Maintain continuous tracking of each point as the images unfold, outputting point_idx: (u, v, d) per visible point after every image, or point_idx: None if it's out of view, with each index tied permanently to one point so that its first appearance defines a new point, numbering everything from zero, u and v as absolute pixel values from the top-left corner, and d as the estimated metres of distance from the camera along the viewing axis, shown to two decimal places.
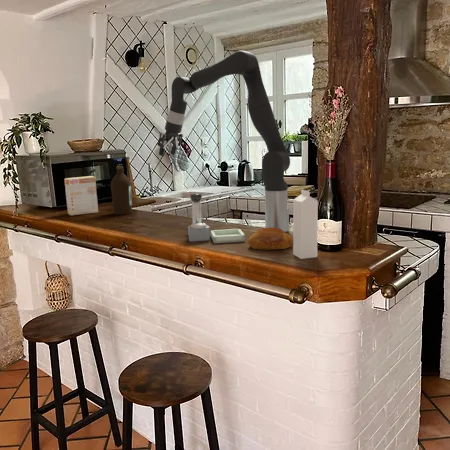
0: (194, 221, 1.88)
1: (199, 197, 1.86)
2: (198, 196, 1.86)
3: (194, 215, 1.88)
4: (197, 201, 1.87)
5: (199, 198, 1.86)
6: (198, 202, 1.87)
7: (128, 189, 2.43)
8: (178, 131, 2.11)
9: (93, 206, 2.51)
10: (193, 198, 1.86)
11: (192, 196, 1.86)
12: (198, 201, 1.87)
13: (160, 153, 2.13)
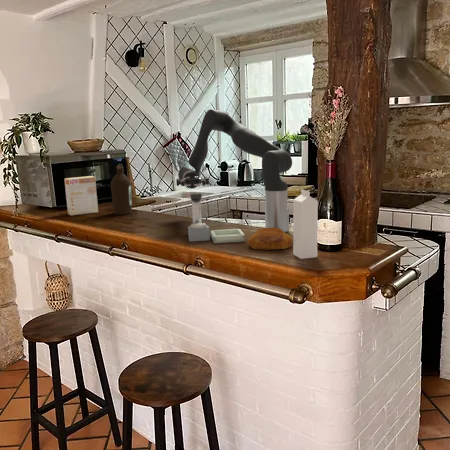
0: (194, 221, 1.88)
1: (199, 197, 1.86)
2: (198, 196, 1.86)
3: (194, 215, 1.88)
4: (197, 201, 1.87)
5: (199, 198, 1.86)
6: (198, 202, 1.87)
7: (128, 189, 2.43)
8: (190, 172, 2.09)
9: (93, 206, 2.51)
10: (193, 198, 1.86)
11: (192, 196, 1.86)
12: (198, 201, 1.87)
13: (180, 183, 1.98)
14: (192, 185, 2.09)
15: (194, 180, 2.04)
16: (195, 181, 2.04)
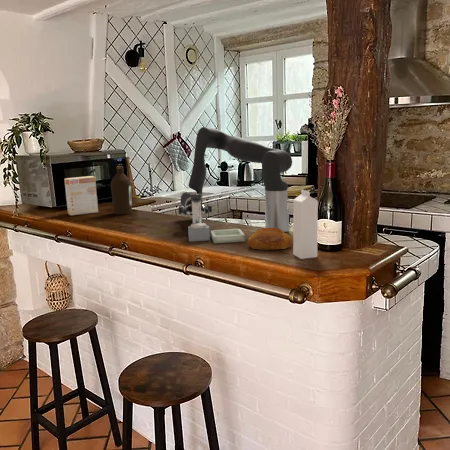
0: (194, 221, 1.88)
1: (199, 197, 1.86)
2: (198, 196, 1.86)
3: (194, 215, 1.88)
4: (197, 201, 1.87)
5: (199, 198, 1.86)
6: (198, 202, 1.87)
7: (128, 189, 2.43)
8: None
9: (93, 206, 2.51)
10: (193, 198, 1.86)
11: (192, 196, 1.86)
12: (198, 201, 1.87)
13: (183, 211, 1.94)
14: None
15: None
16: None
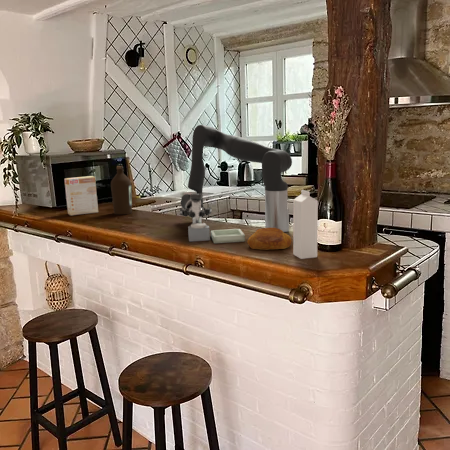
0: (194, 221, 1.88)
1: (199, 197, 1.86)
2: (198, 196, 1.86)
3: (194, 215, 1.88)
4: (197, 201, 1.87)
5: (199, 198, 1.86)
6: (198, 202, 1.87)
7: (128, 189, 2.43)
8: None
9: (93, 206, 2.51)
10: (193, 198, 1.86)
11: (192, 196, 1.86)
12: (198, 201, 1.87)
13: (189, 214, 1.87)
14: None
15: None
16: None
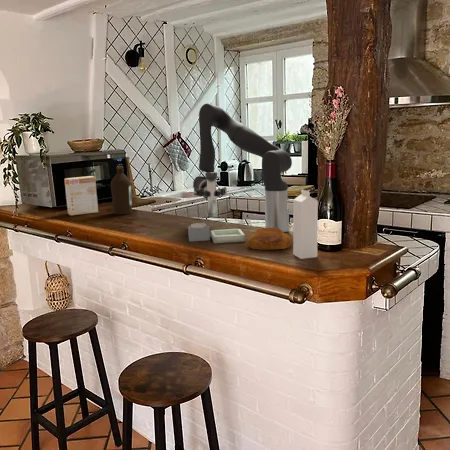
0: (209, 201, 1.81)
1: (215, 176, 1.79)
2: (213, 174, 1.79)
3: (209, 194, 1.81)
4: (212, 180, 1.79)
5: (215, 177, 1.79)
6: (213, 181, 1.80)
7: (128, 189, 2.43)
8: None
9: (93, 206, 2.51)
10: (208, 177, 1.79)
11: (207, 174, 1.79)
12: (213, 180, 1.80)
13: (204, 193, 1.80)
14: None
15: None
16: None
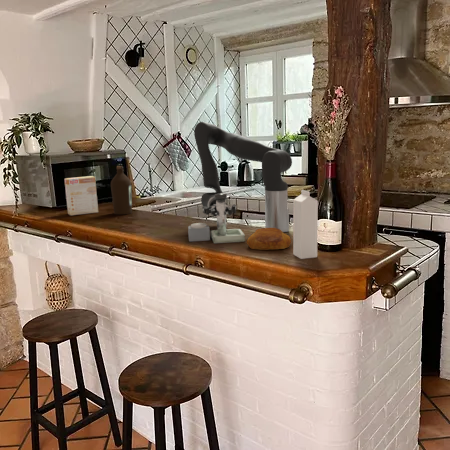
0: (219, 222, 1.80)
1: (224, 197, 1.78)
2: (223, 196, 1.78)
3: (219, 216, 1.80)
4: (222, 201, 1.78)
5: (224, 198, 1.78)
6: (223, 202, 1.79)
7: (128, 189, 2.43)
8: None
9: (93, 206, 2.51)
10: (218, 198, 1.78)
11: (217, 196, 1.78)
12: (223, 201, 1.79)
13: (211, 212, 1.79)
14: None
15: None
16: None
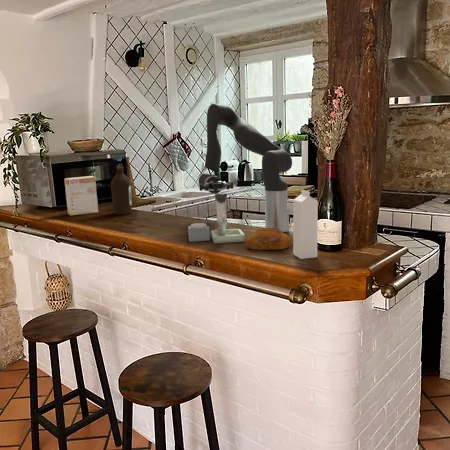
0: (219, 222, 1.80)
1: (224, 197, 1.78)
2: (223, 196, 1.78)
3: (219, 216, 1.80)
4: (222, 201, 1.78)
5: (224, 198, 1.78)
6: (223, 202, 1.79)
7: (128, 189, 2.43)
8: (212, 176, 2.01)
9: (93, 206, 2.51)
10: (218, 198, 1.78)
11: (217, 196, 1.78)
12: (223, 201, 1.78)
13: (204, 187, 1.90)
14: (215, 190, 2.01)
15: (218, 184, 1.96)
16: (219, 185, 1.96)
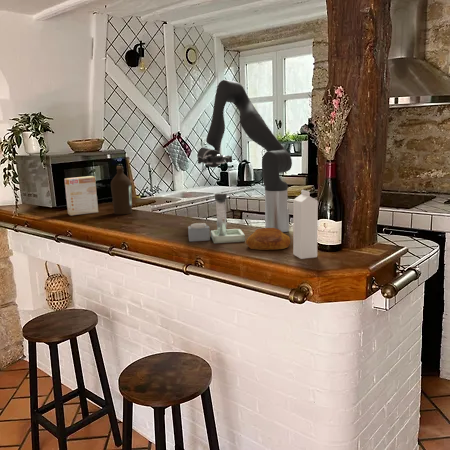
0: (219, 222, 1.80)
1: (224, 197, 1.78)
2: (223, 196, 1.77)
3: (219, 216, 1.80)
4: (222, 201, 1.78)
5: (224, 198, 1.78)
6: (223, 202, 1.79)
7: (128, 189, 2.43)
8: (211, 150, 1.99)
9: (93, 206, 2.51)
10: (218, 198, 1.78)
11: (217, 196, 1.78)
12: (223, 201, 1.78)
13: (203, 160, 1.88)
14: (214, 164, 1.99)
15: (216, 158, 1.94)
16: (217, 159, 1.94)
